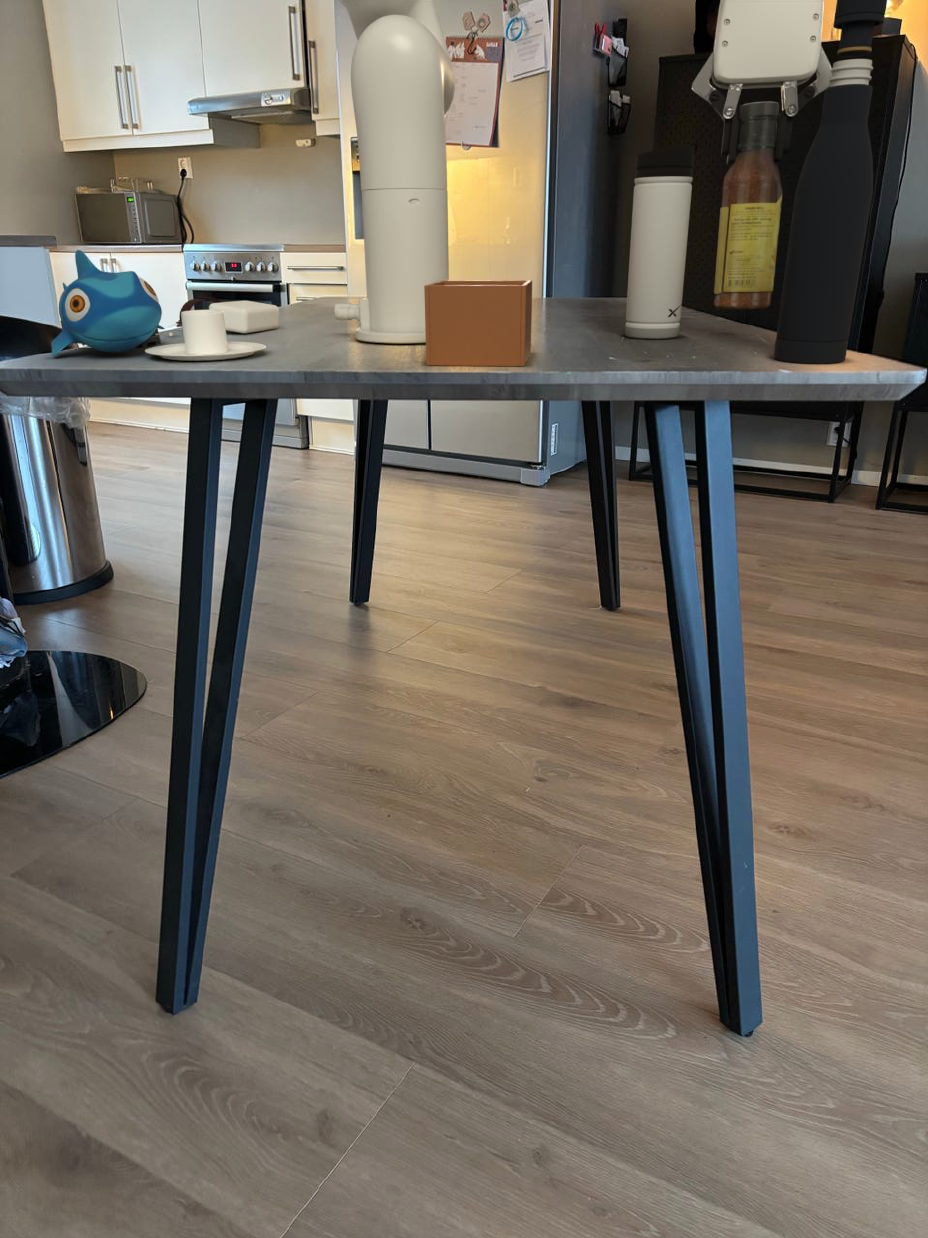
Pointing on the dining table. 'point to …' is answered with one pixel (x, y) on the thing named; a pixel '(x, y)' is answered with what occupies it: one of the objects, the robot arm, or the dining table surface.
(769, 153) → the sauce bottle
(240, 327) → the soap
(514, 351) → the box
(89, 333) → the toy
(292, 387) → the dining table surface
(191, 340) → the candle holder
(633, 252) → the travel mug
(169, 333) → the witch figurine
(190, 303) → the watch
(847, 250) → the black water bottle
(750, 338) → the dining table surface
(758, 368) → the dining table surface
